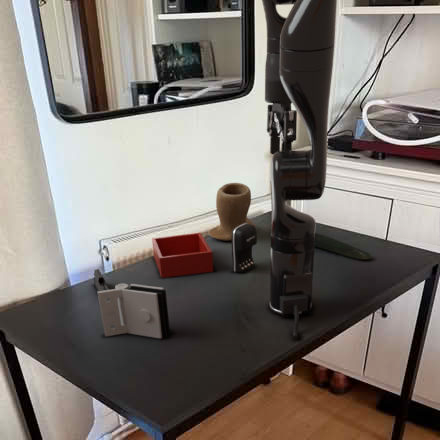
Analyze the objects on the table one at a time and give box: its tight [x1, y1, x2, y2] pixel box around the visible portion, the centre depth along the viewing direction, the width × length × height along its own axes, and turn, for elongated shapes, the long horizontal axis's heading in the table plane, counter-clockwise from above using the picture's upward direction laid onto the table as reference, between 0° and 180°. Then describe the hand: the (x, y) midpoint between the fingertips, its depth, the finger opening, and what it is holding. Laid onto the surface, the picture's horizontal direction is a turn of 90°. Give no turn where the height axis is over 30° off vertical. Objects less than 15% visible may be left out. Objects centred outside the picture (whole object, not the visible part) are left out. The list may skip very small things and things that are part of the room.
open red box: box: [151, 232, 214, 279], centre depth 150 cm, size 16×14×5 cm
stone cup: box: [208, 182, 257, 242], centre depth 164 cm, size 15×12×15 cm
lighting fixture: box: [93, 268, 110, 302], centre depth 134 cm, size 19×3×4 cm, turn 22°
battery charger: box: [231, 223, 258, 273], centre depth 144 cm, size 7×4×11 cm, turn 143°
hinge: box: [97, 283, 171, 340], centre depth 118 cm, size 14×5×10 cm, turn 81°
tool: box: [314, 232, 373, 261], centre depth 153 cm, size 28×6×7 cm, turn 47°
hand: (280, 157), depth 130 cm, fingers open, 8 cm apart
